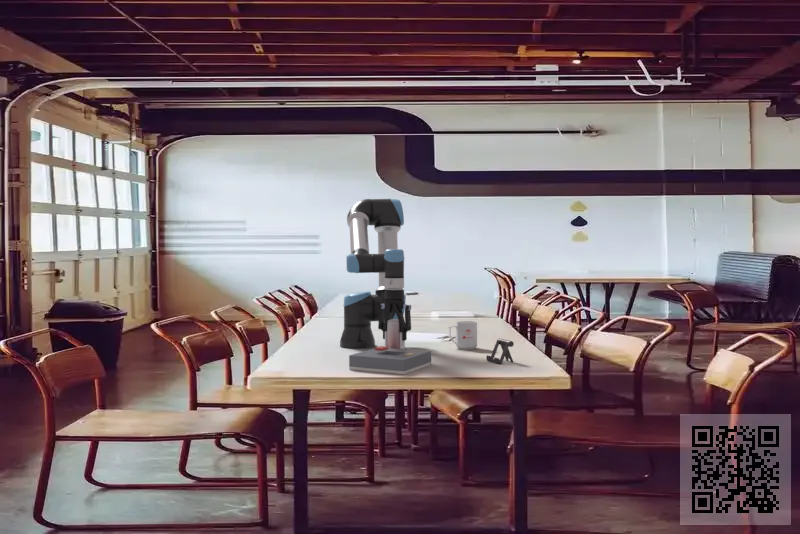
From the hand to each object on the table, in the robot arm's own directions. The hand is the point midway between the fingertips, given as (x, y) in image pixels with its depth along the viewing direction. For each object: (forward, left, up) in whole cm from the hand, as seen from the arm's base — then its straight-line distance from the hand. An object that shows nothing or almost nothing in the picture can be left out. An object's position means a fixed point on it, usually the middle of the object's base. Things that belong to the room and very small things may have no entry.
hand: (394, 348), depth 292 cm
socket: (+8, -18, -4) cm, 20 cm away
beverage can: (0, 0, -4) cm, 4 cm away
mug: (+14, +35, -4) cm, 38 cm away
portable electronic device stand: (+40, +10, -4) cm, 41 cm away
